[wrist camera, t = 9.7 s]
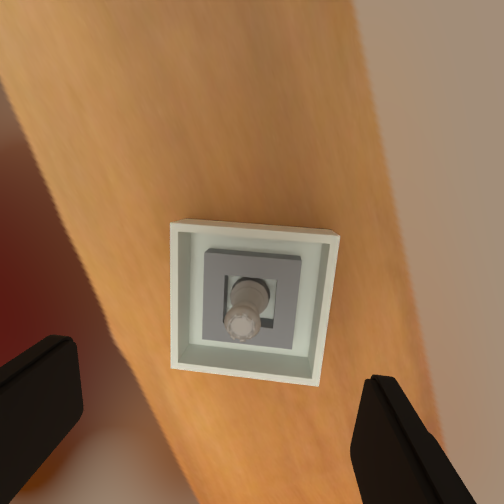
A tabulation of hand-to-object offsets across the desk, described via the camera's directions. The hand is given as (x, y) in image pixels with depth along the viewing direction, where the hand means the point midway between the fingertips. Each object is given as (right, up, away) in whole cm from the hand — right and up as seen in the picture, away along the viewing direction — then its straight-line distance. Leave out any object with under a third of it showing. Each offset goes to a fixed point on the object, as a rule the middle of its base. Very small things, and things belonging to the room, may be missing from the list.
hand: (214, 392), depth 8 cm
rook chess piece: (+1, 0, +21) cm, 21 cm away
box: (+1, 0, +22) cm, 22 cm away
